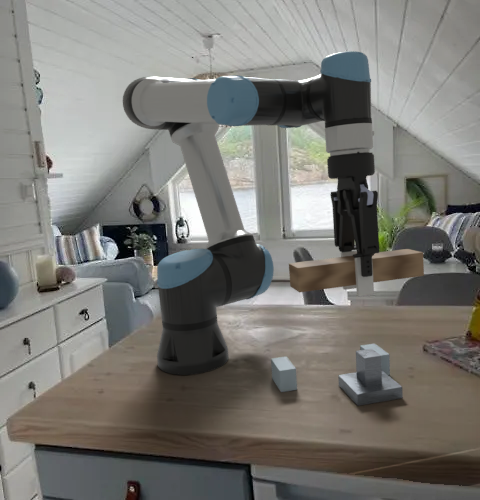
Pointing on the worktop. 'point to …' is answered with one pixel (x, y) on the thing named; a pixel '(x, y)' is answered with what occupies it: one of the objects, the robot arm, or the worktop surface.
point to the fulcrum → (369, 380)
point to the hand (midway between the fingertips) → (358, 291)
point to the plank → (343, 270)
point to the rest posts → (287, 372)
